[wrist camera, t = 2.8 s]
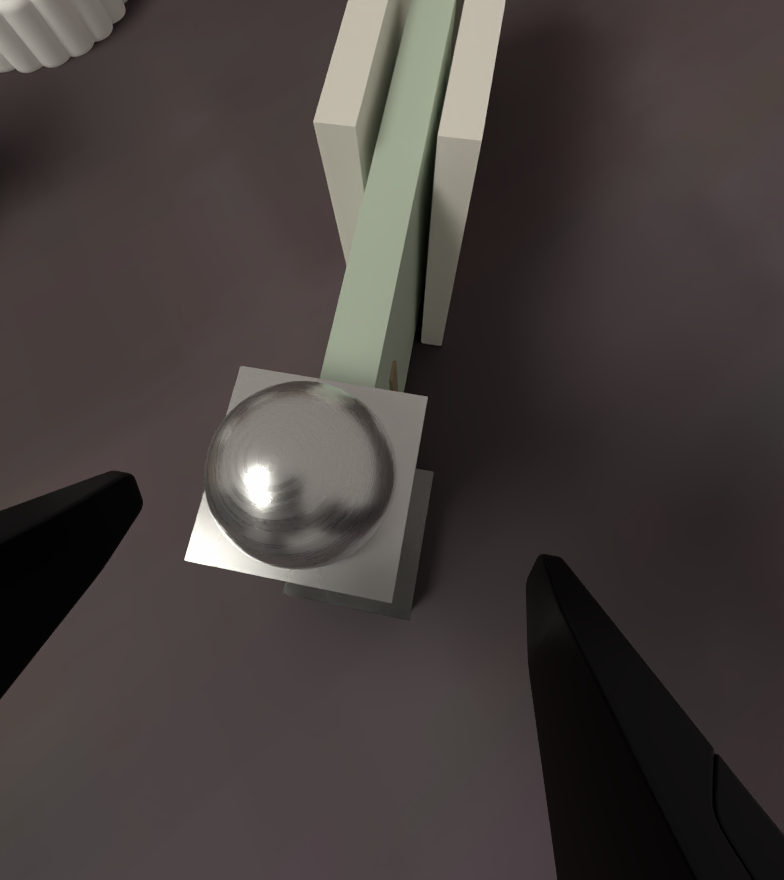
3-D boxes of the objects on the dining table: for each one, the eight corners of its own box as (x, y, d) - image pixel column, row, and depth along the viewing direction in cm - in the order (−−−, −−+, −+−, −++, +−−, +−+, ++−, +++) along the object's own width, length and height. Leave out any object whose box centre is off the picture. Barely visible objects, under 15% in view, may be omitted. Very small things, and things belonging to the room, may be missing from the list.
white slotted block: (441, 346, 18) (481, 140, 8) (362, 334, 18) (313, 122, 9) (487, 77, 22) (554, -288, 12) (420, 70, 22) (432, -292, 12)
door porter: (409, 611, 16) (417, 898, 4) (293, 587, 16) (-40, 776, 4) (431, 476, 17) (493, 360, 5) (323, 456, 17) (133, 305, 5)
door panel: (392, 461, 17) (377, 393, 8) (362, 455, 17) (314, 382, 8) (436, 232, 19) (460, -13, 10) (408, 229, 19) (410, -17, 11)
